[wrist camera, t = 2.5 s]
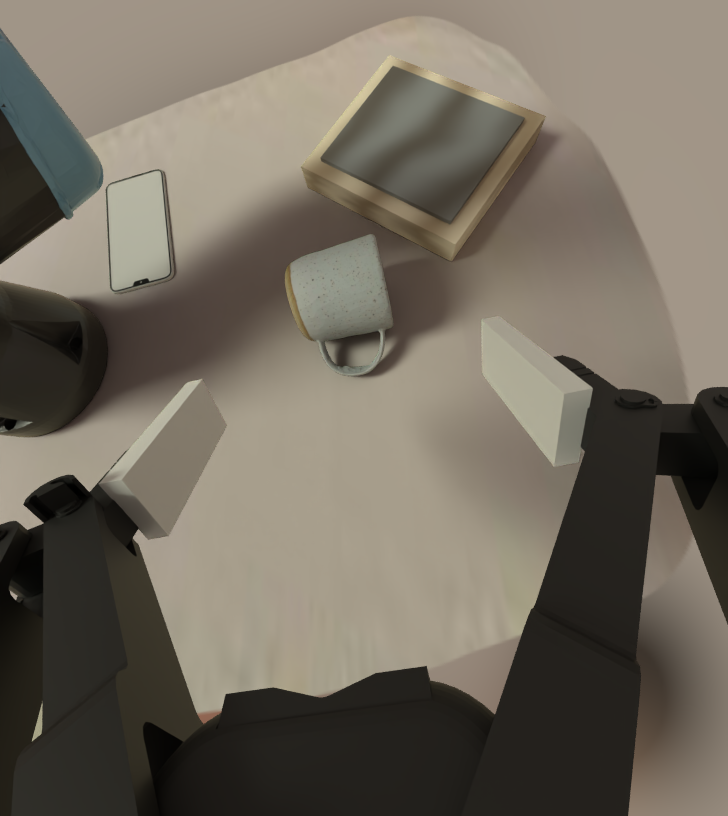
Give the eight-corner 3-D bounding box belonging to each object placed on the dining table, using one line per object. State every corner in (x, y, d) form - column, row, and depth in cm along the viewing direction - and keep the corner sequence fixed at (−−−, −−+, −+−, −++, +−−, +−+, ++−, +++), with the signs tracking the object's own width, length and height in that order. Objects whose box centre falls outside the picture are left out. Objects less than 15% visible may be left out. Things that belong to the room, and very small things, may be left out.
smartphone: (162, 166, 39) (173, 277, 35) (166, 171, 39) (177, 280, 36) (104, 184, 39) (109, 294, 36) (109, 189, 40) (114, 297, 36)
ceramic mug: (301, 290, 34) (272, 238, 26) (379, 269, 33) (373, 211, 26) (320, 388, 32) (294, 363, 24) (404, 368, 31) (405, 336, 23)
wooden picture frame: (307, 187, 36) (299, 162, 33) (389, 82, 38) (389, 50, 35) (451, 261, 32) (456, 241, 30) (535, 141, 34) (547, 111, 31)
